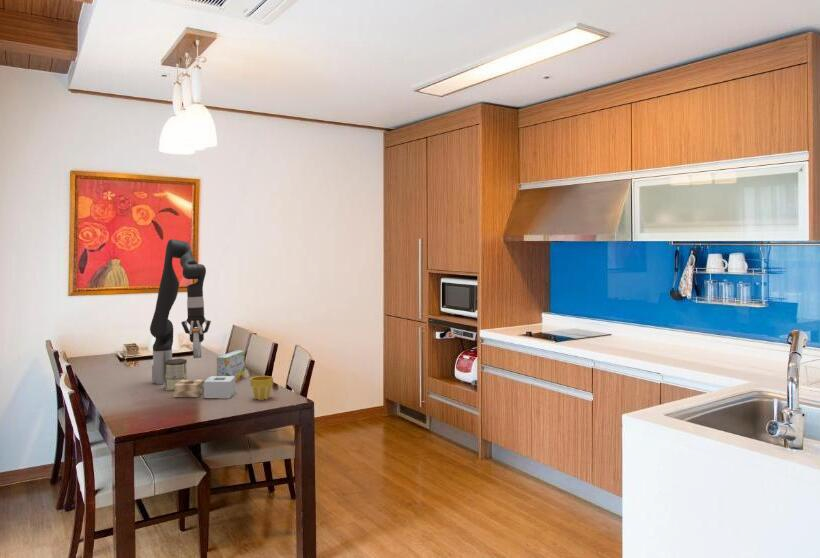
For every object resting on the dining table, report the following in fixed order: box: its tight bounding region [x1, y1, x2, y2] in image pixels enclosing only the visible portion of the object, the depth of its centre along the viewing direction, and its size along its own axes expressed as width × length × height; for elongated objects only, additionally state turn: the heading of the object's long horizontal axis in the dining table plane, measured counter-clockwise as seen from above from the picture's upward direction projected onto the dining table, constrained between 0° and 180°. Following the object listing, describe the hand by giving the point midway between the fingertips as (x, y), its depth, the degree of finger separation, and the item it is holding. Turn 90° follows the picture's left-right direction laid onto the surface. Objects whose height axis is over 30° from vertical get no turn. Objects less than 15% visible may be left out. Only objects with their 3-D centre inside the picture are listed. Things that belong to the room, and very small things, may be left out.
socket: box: [203, 375, 237, 399], centre depth 296 cm, size 12×12×8 cm
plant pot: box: [250, 375, 274, 401], centre depth 291 cm, size 10×10×10 cm
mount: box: [173, 379, 205, 398], centre depth 297 cm, size 11×11×6 cm
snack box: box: [216, 349, 246, 382], centre depth 325 cm, size 21×6×15 cm, turn 168°
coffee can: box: [165, 358, 188, 391], centre depth 309 cm, size 10×10×14 cm
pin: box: [192, 327, 202, 359], centre depth 295 cm, size 4×4×14 cm
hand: (197, 341), depth 295 cm, fingers closed on pin, 3 cm apart
